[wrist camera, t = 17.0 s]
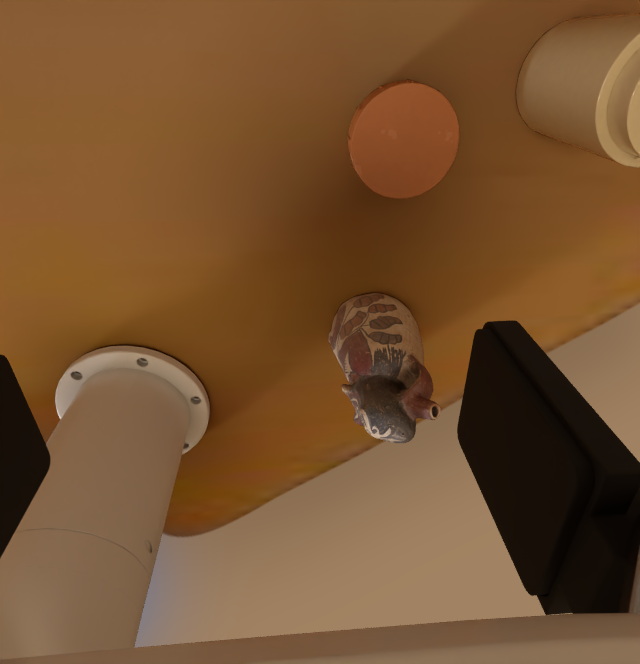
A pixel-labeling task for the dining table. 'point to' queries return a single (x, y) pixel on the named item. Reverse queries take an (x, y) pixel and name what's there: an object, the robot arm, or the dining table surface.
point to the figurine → (383, 366)
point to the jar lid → (403, 139)
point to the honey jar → (586, 86)
